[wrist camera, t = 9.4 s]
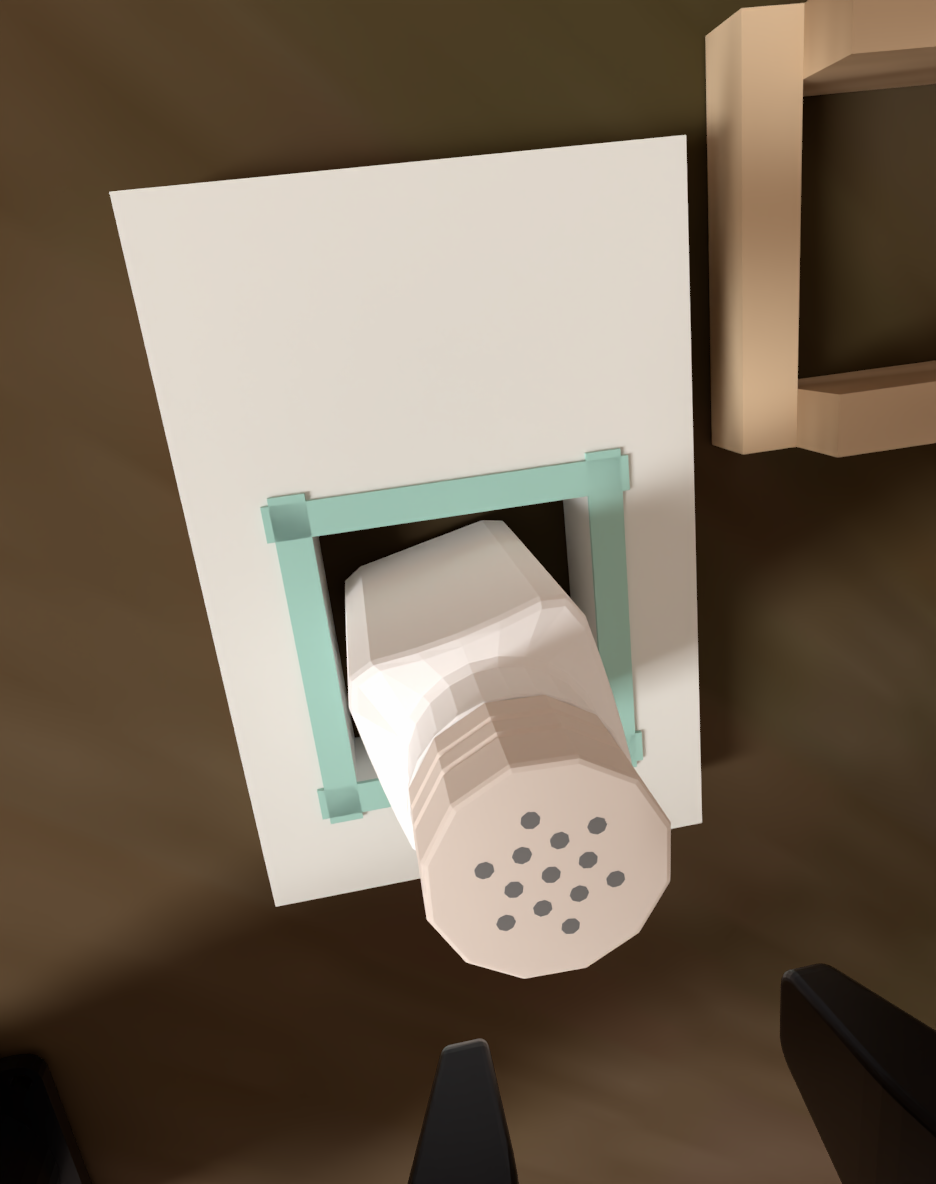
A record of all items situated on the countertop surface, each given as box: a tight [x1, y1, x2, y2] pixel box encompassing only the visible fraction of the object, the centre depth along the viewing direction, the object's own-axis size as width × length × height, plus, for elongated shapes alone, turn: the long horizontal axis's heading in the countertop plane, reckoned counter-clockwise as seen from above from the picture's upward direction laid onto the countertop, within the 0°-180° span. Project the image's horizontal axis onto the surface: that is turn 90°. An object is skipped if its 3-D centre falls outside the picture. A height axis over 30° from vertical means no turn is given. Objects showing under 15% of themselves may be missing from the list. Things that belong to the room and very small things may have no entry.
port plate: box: [109, 135, 702, 907], centre depth 17 cm, size 14×10×2 cm
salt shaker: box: [345, 520, 671, 979], centre depth 14 cm, size 4×4×10 cm
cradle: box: [705, 0, 936, 458], centre depth 16 cm, size 8×7×3 cm
